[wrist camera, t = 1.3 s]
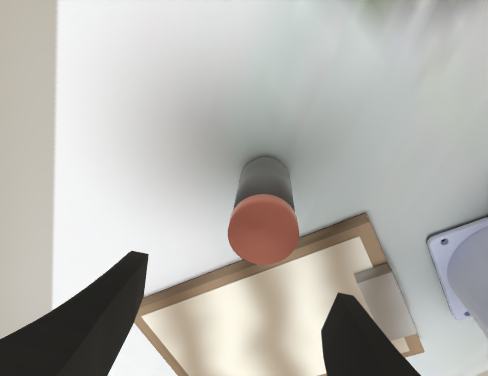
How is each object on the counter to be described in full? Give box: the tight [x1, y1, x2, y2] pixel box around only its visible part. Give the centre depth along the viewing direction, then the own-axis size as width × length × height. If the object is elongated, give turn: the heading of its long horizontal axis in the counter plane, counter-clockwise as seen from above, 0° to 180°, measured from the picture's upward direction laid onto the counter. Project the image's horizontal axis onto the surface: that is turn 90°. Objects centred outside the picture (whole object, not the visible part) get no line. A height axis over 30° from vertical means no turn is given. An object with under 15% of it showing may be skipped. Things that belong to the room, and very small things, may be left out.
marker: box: [228, 157, 299, 265], centre depth 19 cm, size 3×3×8 cm
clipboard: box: [134, 213, 424, 376], centre depth 26 cm, size 20×13×2 cm, turn 117°
